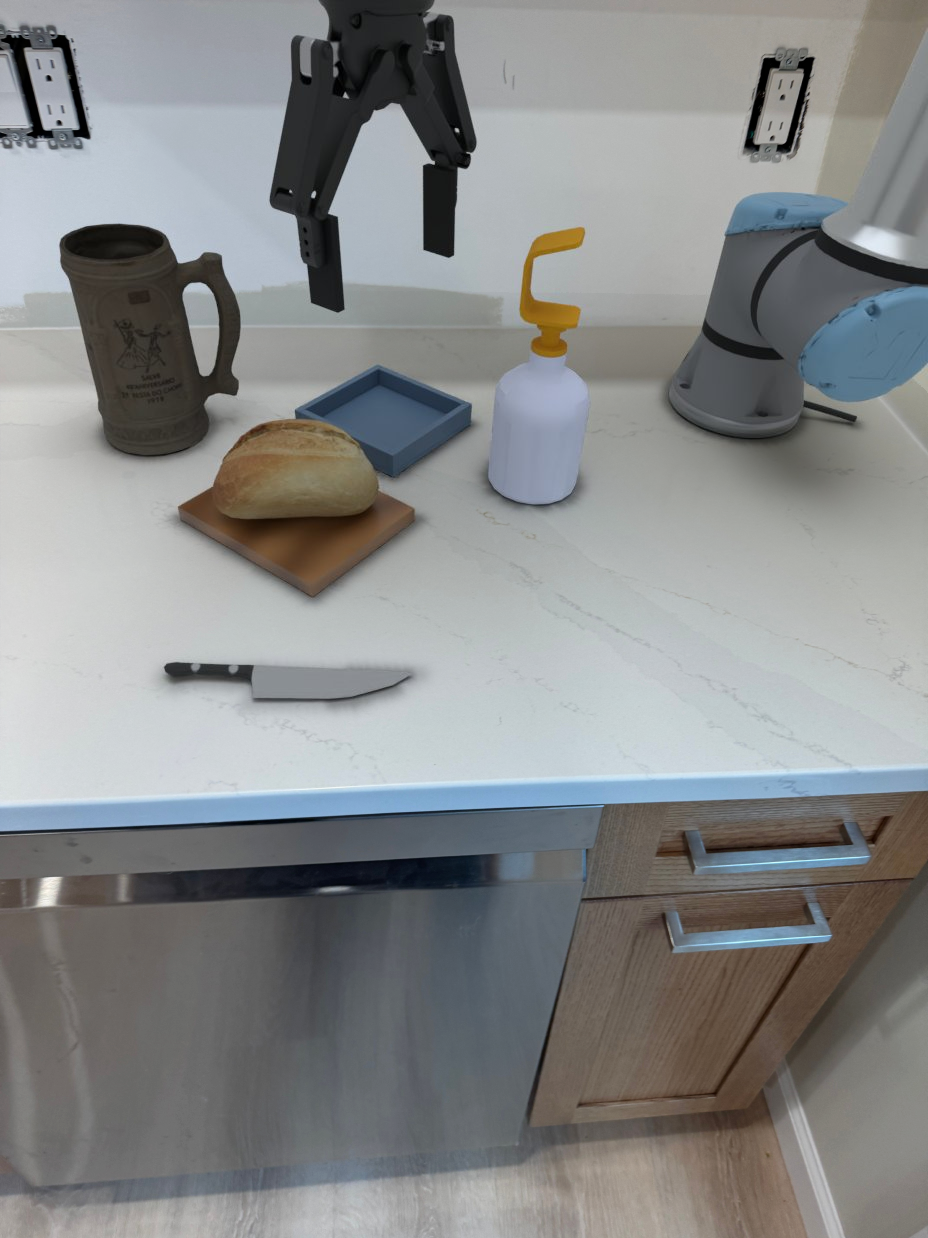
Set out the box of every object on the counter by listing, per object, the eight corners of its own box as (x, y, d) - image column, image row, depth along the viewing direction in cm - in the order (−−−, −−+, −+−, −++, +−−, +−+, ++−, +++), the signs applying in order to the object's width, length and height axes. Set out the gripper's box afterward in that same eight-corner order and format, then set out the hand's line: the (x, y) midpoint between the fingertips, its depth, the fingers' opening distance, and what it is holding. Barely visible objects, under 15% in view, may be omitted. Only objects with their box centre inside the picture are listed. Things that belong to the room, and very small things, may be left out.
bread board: (414, 520, 79) (414, 508, 78) (312, 597, 70) (311, 584, 69) (287, 456, 85) (285, 443, 84) (180, 519, 77) (177, 506, 76)
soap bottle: (570, 513, 81) (615, 258, 64) (480, 498, 82) (500, 243, 65) (579, 463, 87) (622, 220, 70) (495, 450, 88) (518, 207, 71)
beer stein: (108, 467, 82) (65, 263, 69) (89, 415, 89) (47, 220, 76) (258, 444, 89) (246, 253, 75) (230, 397, 95) (214, 214, 82)
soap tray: (470, 424, 92) (472, 403, 90) (393, 477, 84) (392, 455, 82) (378, 384, 97) (377, 363, 95) (296, 430, 89) (294, 409, 87)
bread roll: (215, 484, 79) (201, 410, 73) (370, 470, 82) (367, 398, 76) (218, 547, 72) (202, 470, 67) (386, 529, 75) (384, 455, 70)
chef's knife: (411, 705, 62) (413, 674, 64) (412, 696, 62) (413, 665, 64) (157, 698, 62) (166, 667, 64) (153, 689, 61) (163, 658, 63)
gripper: (447, -88, 59) (443, 223, 74) (169, -65, 44) (235, 317, 59) (535, -78, 56) (513, 244, 71) (268, -51, 41) (311, 348, 56)
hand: (386, 278), depth 65 cm, fingers open, 13 cm apart
